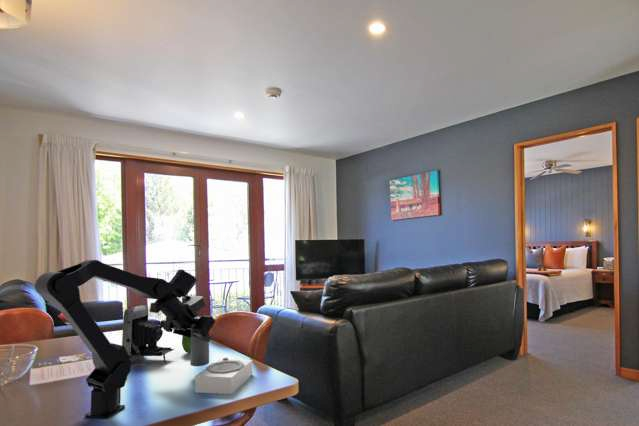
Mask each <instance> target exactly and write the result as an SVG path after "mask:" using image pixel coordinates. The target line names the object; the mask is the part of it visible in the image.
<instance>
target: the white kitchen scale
mask: <svg viewBox="0 0 639 426" xmlns="http://www.w3.org/2000/svg"><path fill="white" fill-rule="evenodd" d="M253 371H254V370H253V359H239V358H238V359H237V358H236V359H235V358H231V359H230V358H229V357H223V358H220V359H218V360H216V361H215V362H211V364H209V365H206V368H204V369H203V370H201V371H200V372H198V373H197V374H196V375H195V376H194V393H198V394H199V393H201V394H216V393H217V394H218V395H219V394H220V395H221V394H222V395H233V394H234V393H235V392H236V391H237V390H238V389H239V388H240V387H241V386H242V385H243V384H244V383H245V382H247V381H248V380H249V379H250V378H251V377H252V376H253V375H252V374H253V373H254V372H253ZM251 375H252V376H251ZM250 376H251V377H250Z"/></svg>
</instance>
